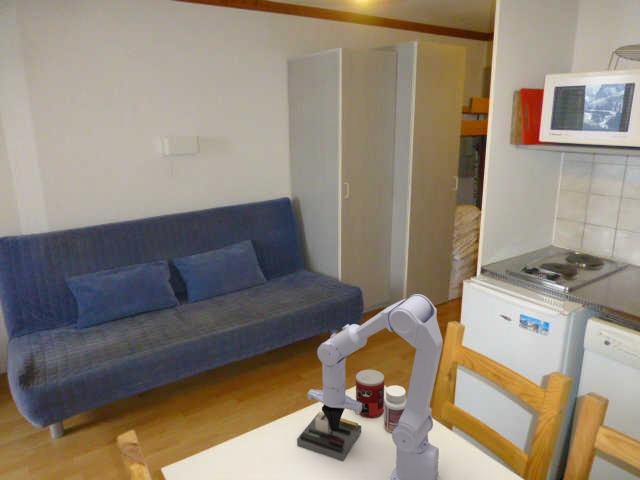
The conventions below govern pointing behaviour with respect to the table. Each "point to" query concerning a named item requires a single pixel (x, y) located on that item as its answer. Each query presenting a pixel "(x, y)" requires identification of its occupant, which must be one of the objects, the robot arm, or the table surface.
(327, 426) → the block
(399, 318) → the robot arm
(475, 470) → the table surface
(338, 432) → the breaker panel
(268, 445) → the table surface
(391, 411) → the pill bottle
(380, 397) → the canned food
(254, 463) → the table surface
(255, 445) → the table surface
